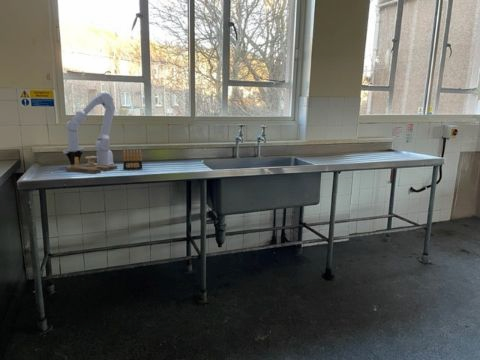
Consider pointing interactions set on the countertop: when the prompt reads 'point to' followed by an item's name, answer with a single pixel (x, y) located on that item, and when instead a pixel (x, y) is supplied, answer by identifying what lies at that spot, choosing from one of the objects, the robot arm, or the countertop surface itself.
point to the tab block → (76, 161)
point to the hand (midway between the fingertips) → (74, 164)
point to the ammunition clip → (132, 160)
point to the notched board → (91, 168)
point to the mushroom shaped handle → (91, 161)
